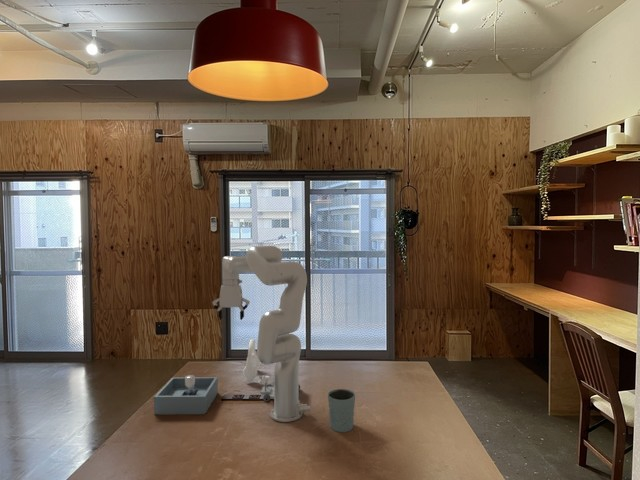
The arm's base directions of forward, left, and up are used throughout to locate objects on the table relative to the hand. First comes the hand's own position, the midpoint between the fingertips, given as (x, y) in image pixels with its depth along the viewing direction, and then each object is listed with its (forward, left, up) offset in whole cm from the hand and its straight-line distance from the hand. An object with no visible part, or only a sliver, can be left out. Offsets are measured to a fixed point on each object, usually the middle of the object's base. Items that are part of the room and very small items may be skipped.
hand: (231, 319), depth 188 cm
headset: (-8, -8, -31) cm, 33 cm away
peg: (+14, +18, -30) cm, 38 cm away
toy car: (-24, +14, -31) cm, 41 cm away
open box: (+14, +21, -30) cm, 39 cm away
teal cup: (-49, +41, -31) cm, 71 cm away
